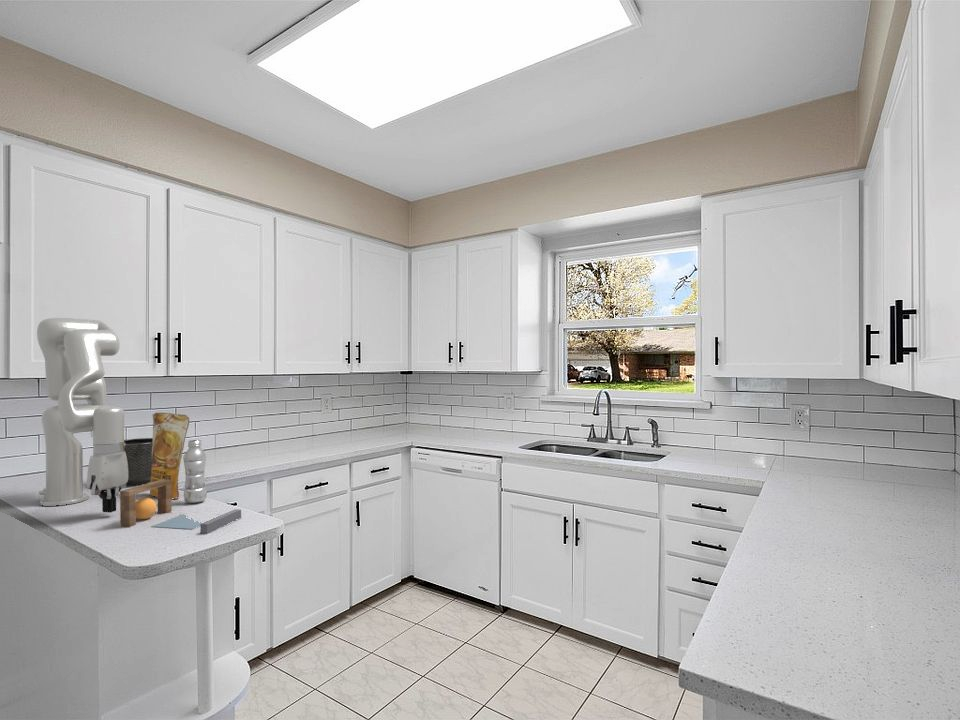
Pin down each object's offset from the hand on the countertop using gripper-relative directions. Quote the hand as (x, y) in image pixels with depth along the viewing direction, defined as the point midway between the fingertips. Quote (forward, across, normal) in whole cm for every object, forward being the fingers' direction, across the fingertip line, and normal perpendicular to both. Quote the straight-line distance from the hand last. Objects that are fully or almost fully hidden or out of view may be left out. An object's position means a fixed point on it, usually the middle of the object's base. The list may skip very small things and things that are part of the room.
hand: (109, 511), depth 155 cm
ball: (-2, 0, +12) cm, 12 cm away
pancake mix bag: (+2, -24, -2) cm, 24 cm away
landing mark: (+2, 0, +27) cm, 27 cm away
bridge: (+2, 0, +13) cm, 13 cm away
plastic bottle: (+2, -18, +14) cm, 23 cm away
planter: (+2, -38, -28) cm, 47 cm away
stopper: (+2, +2, +39) cm, 39 cm away
